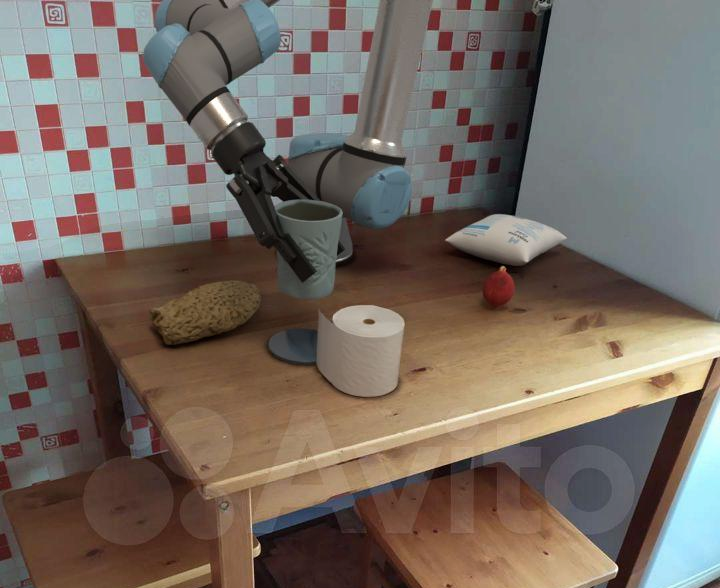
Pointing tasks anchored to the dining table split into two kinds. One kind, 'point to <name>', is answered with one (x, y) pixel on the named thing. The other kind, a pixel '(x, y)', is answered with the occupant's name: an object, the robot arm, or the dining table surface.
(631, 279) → the dining table surface
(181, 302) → the sponge
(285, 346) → the coaster
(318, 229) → the embossed green cup
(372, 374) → the toilet tissue
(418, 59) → the robot arm
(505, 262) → the pouch
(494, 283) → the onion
